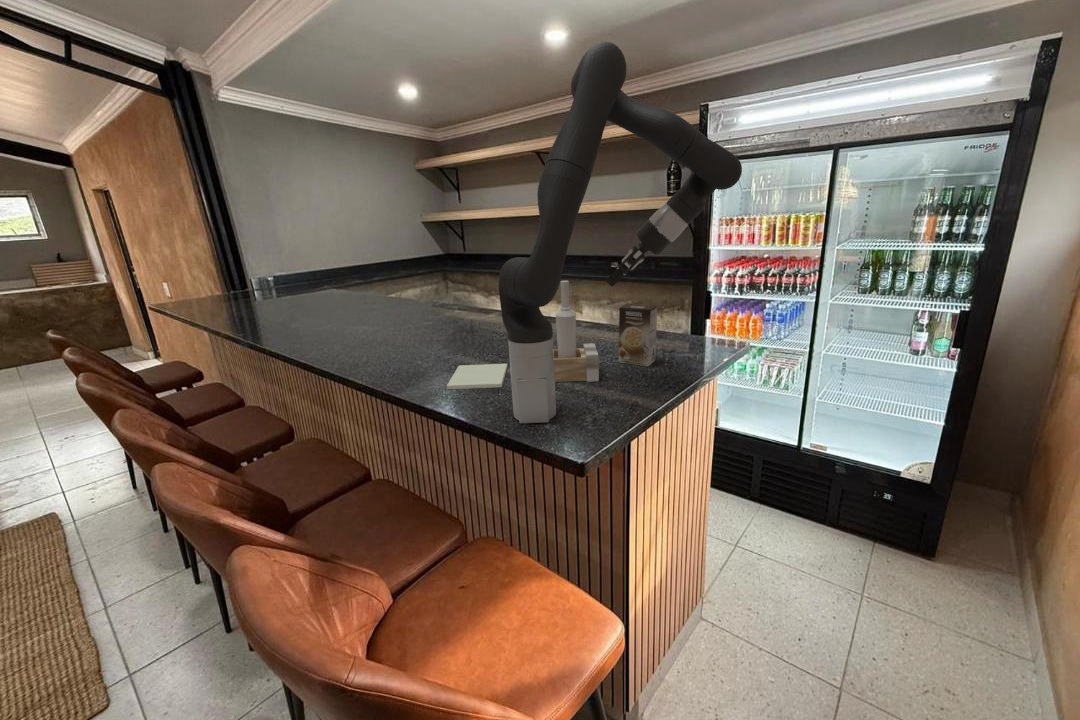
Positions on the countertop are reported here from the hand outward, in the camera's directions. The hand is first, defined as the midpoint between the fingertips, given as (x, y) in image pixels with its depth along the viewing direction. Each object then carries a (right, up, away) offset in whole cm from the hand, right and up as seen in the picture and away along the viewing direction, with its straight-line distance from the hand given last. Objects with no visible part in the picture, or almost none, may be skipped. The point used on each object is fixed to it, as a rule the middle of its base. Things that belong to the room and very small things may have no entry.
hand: (611, 280), depth 109 cm
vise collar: (-10, -23, +11) cm, 28 cm away
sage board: (-34, -24, +13) cm, 43 cm away
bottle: (-10, -23, +11) cm, 28 cm away
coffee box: (+10, -20, +19) cm, 29 cm away
